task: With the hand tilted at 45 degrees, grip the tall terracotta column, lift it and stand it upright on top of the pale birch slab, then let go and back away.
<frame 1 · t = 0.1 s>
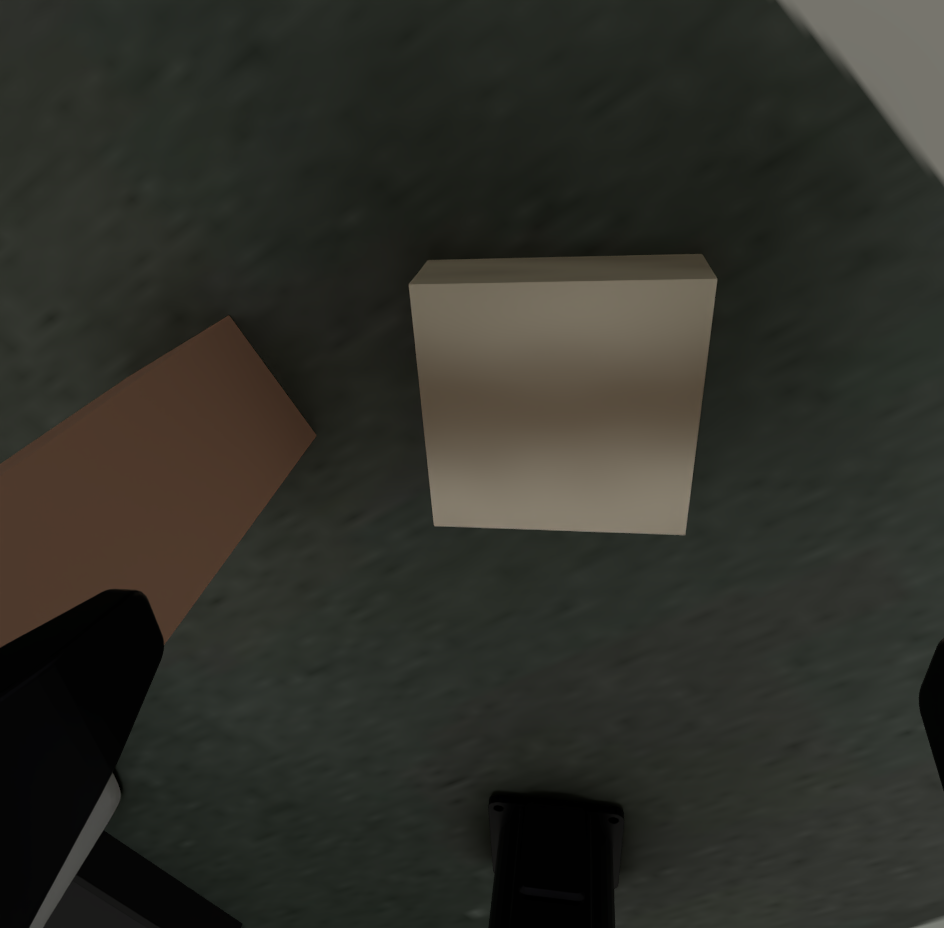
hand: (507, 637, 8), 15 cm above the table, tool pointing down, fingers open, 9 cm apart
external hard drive: (70, 898, 48), on the table
slab: (559, 377, 22), on the table
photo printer: (73, 735, 37), on the table
column: (222, 406, 24), on the table
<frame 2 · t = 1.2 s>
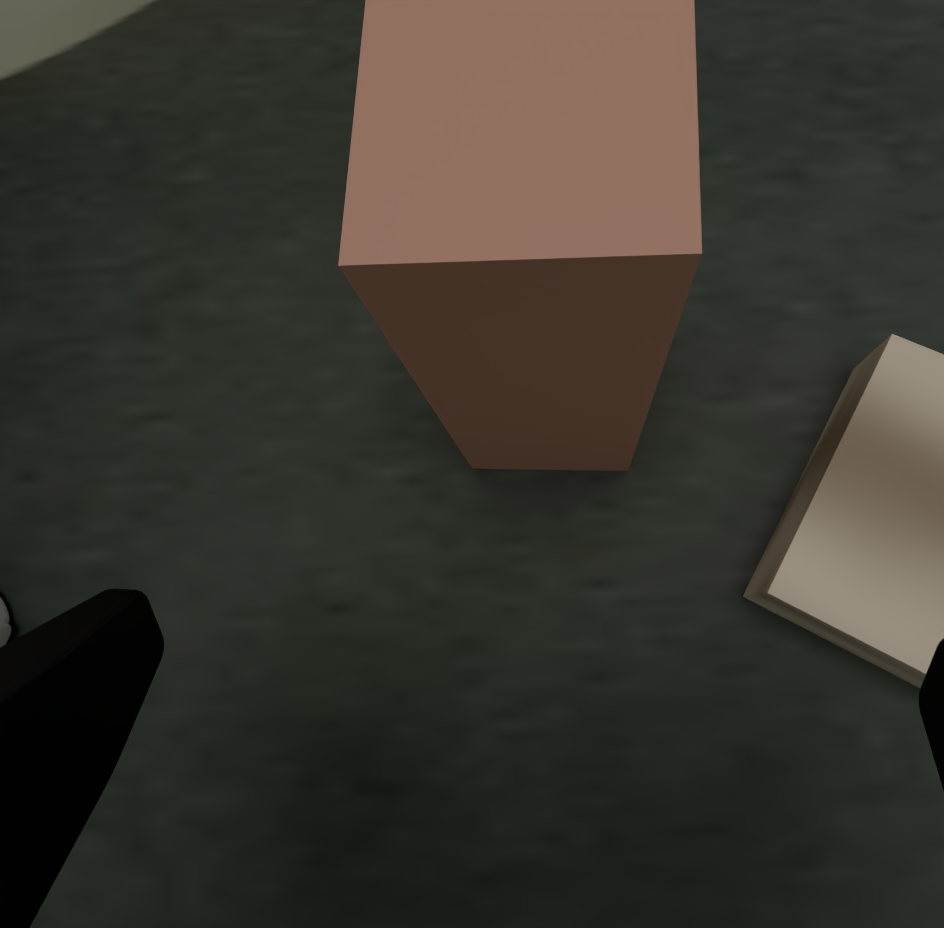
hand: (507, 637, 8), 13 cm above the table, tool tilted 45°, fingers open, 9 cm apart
slab: (927, 543, 20), on the table
column: (550, 396, 22), on the table
when the fingers open (10 cm above the table, at t = 7.9 s): column drops 1 cm, point 3 cm above the table.
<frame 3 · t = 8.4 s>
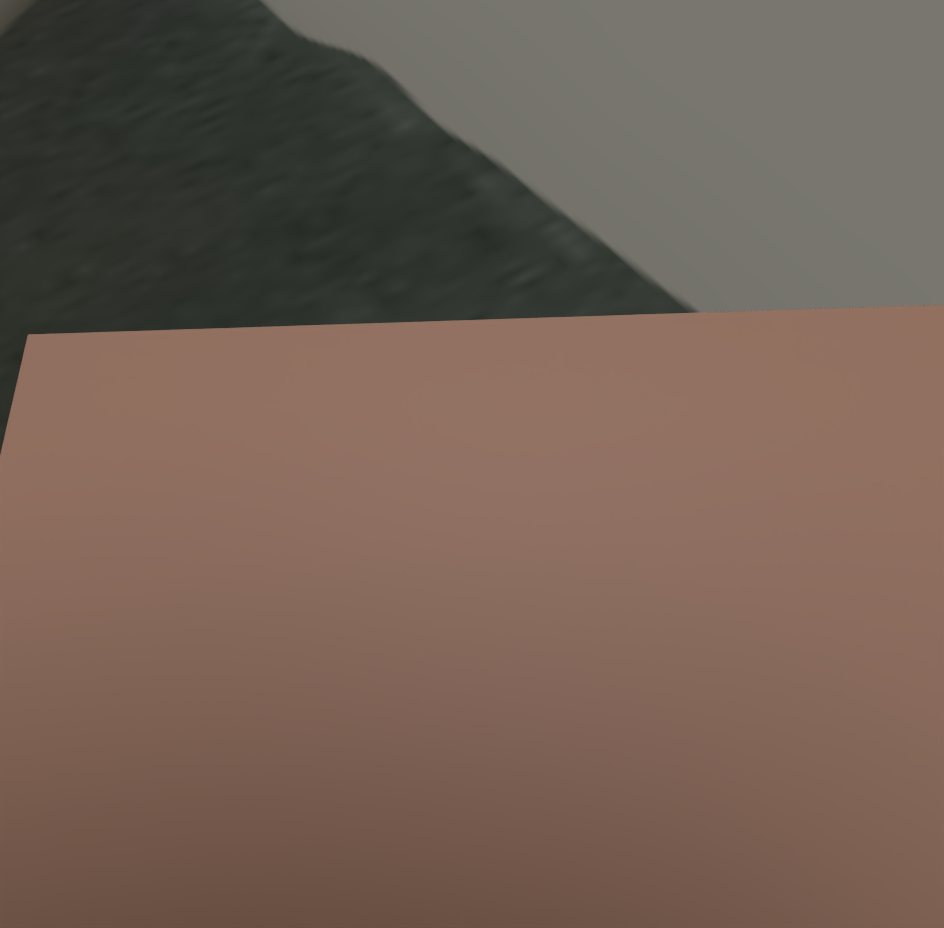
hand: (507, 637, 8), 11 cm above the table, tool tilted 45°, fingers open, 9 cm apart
column: (544, 698, 15), point 3 cm above the table
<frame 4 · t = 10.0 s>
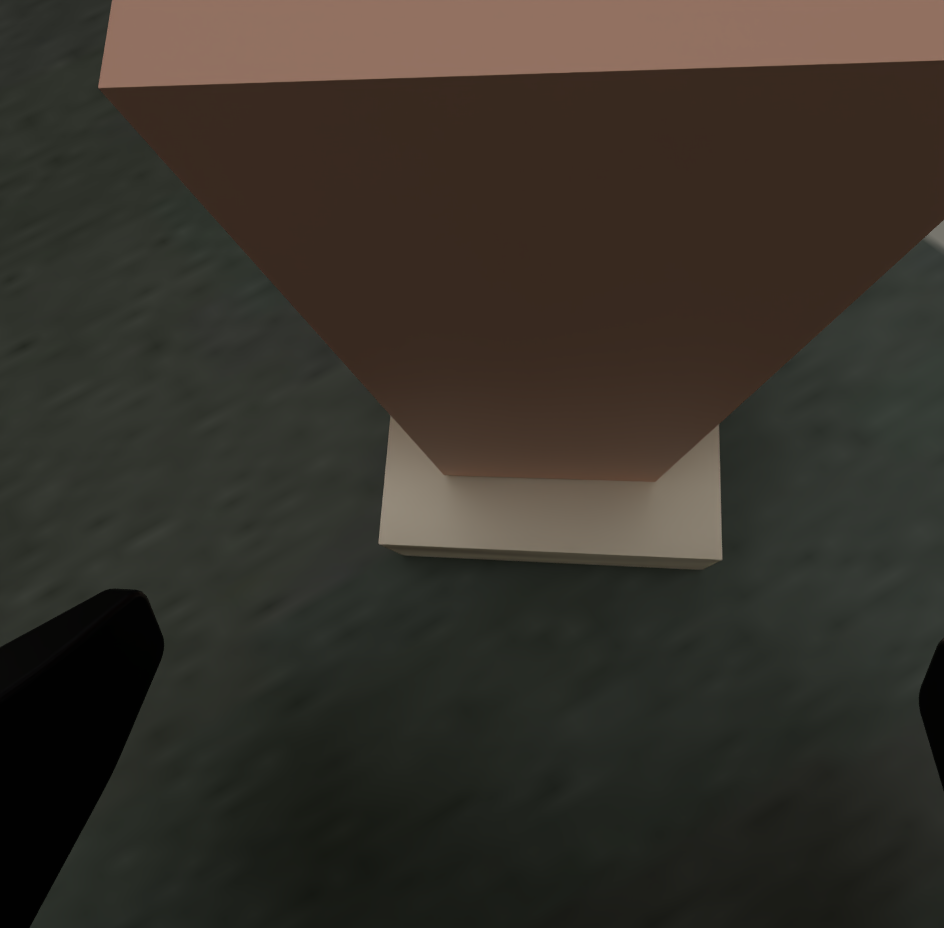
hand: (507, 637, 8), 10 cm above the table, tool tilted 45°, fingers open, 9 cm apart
slab: (553, 425, 20), on the table, touching column
column: (550, 377, 16), point 3 cm above the table, touching slab
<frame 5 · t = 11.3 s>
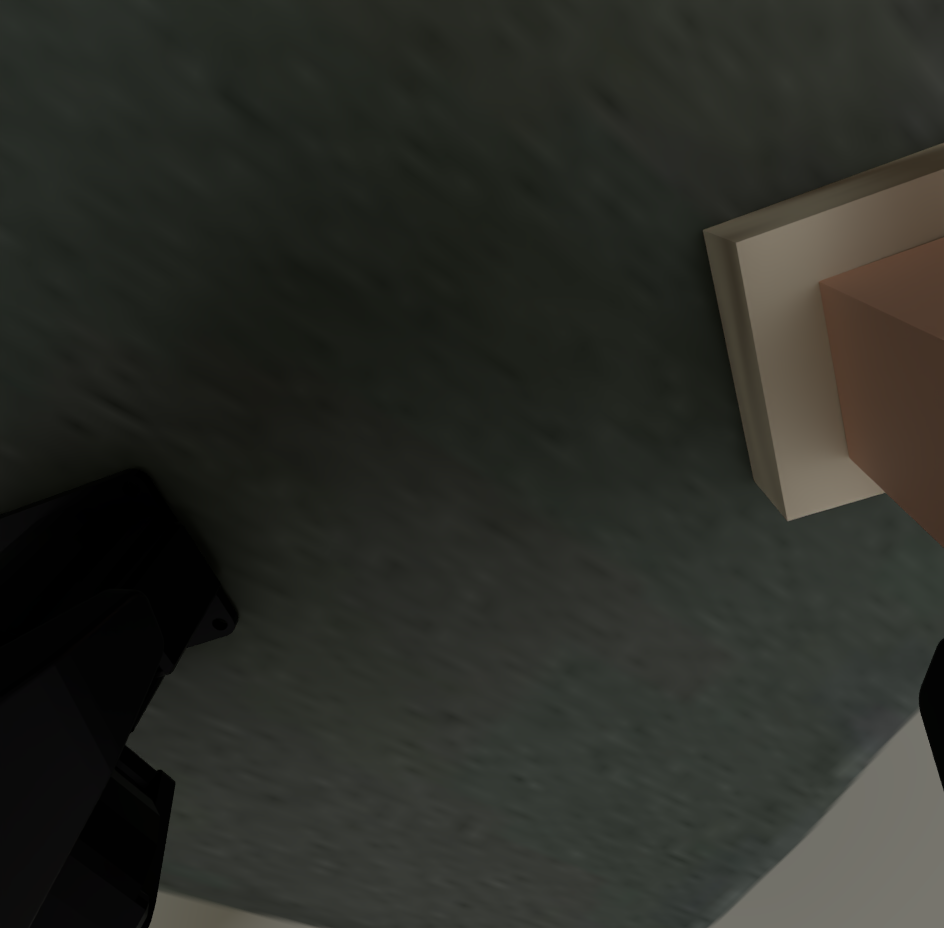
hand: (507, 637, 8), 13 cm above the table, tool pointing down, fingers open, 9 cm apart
slab: (862, 315, 20), on the table, touching column
column: (940, 340, 17), point 3 cm above the table, touching slab
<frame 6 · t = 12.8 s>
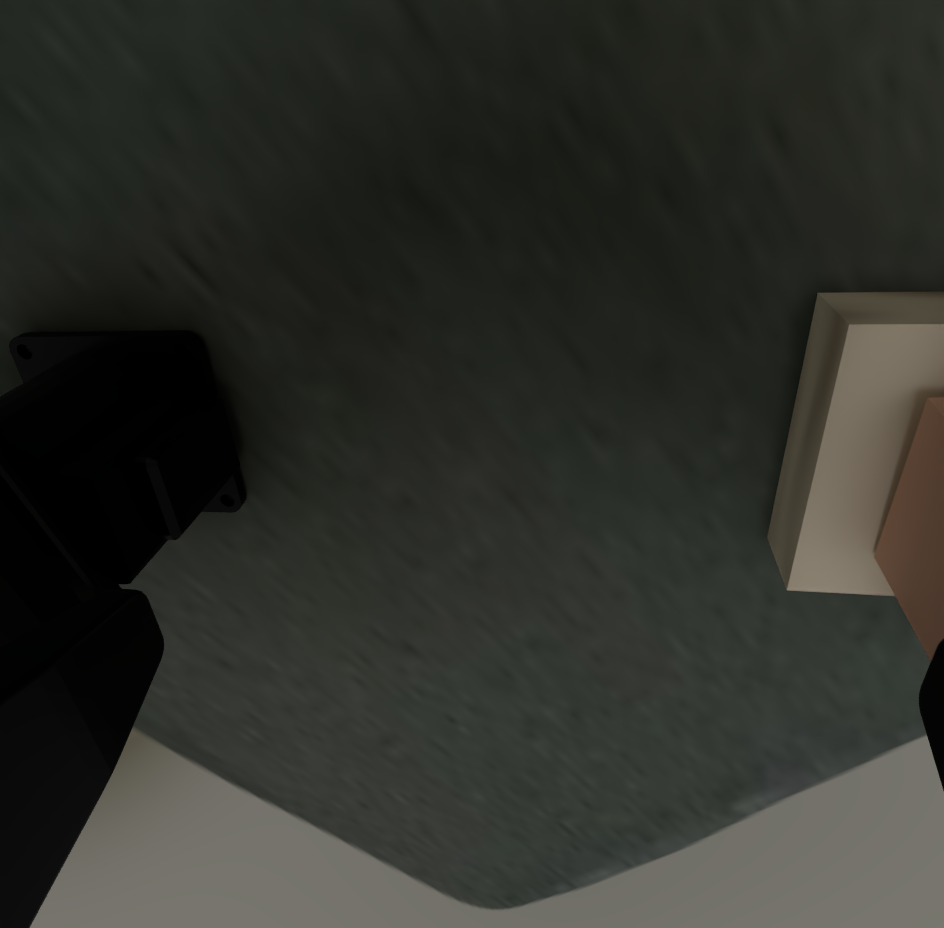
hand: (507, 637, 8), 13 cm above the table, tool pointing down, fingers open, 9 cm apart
slab: (932, 423, 20), on the table, touching column
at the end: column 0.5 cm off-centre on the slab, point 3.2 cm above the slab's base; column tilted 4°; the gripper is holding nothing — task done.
